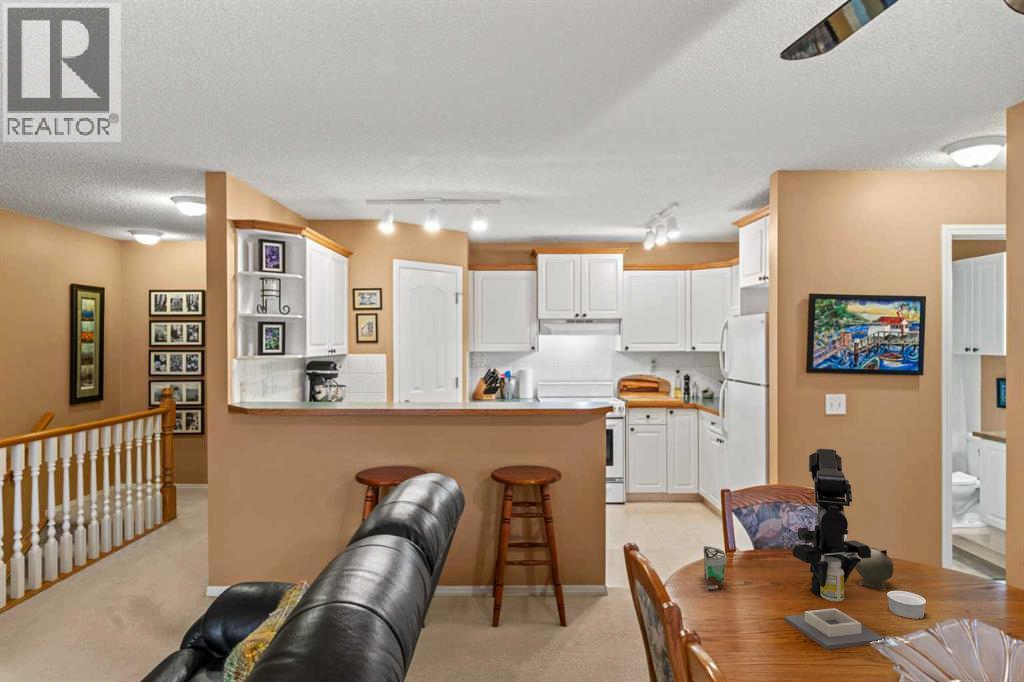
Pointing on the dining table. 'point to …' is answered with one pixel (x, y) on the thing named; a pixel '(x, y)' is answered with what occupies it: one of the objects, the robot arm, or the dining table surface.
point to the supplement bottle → (833, 580)
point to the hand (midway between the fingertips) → (832, 585)
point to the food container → (714, 568)
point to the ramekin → (906, 604)
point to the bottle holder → (832, 628)
